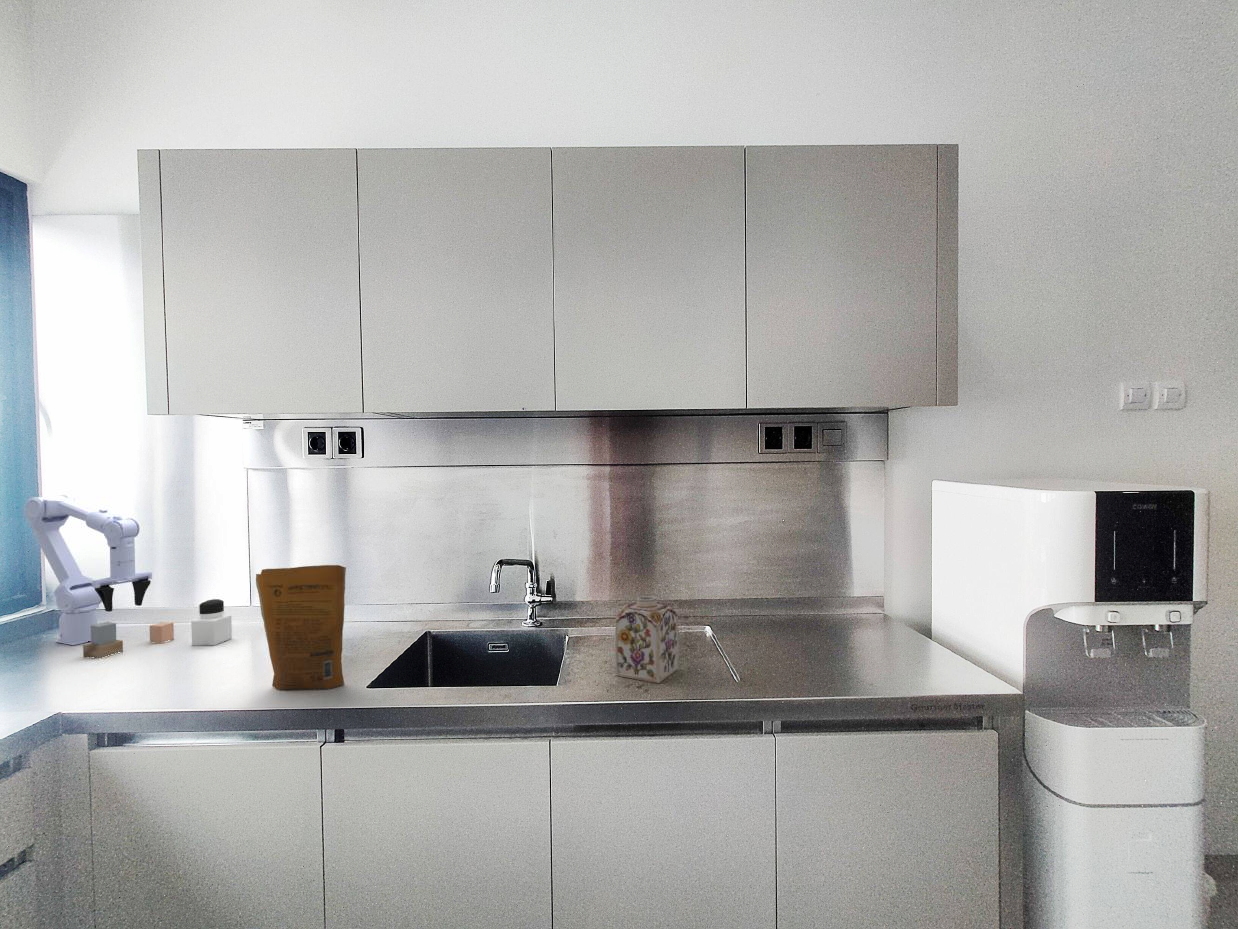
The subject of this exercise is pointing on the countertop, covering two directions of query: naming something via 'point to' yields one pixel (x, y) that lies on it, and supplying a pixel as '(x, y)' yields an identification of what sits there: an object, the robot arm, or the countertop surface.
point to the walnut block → (102, 649)
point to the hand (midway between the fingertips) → (123, 608)
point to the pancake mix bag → (304, 624)
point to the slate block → (103, 633)
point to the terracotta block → (161, 632)
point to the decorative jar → (646, 640)
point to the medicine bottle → (211, 624)
